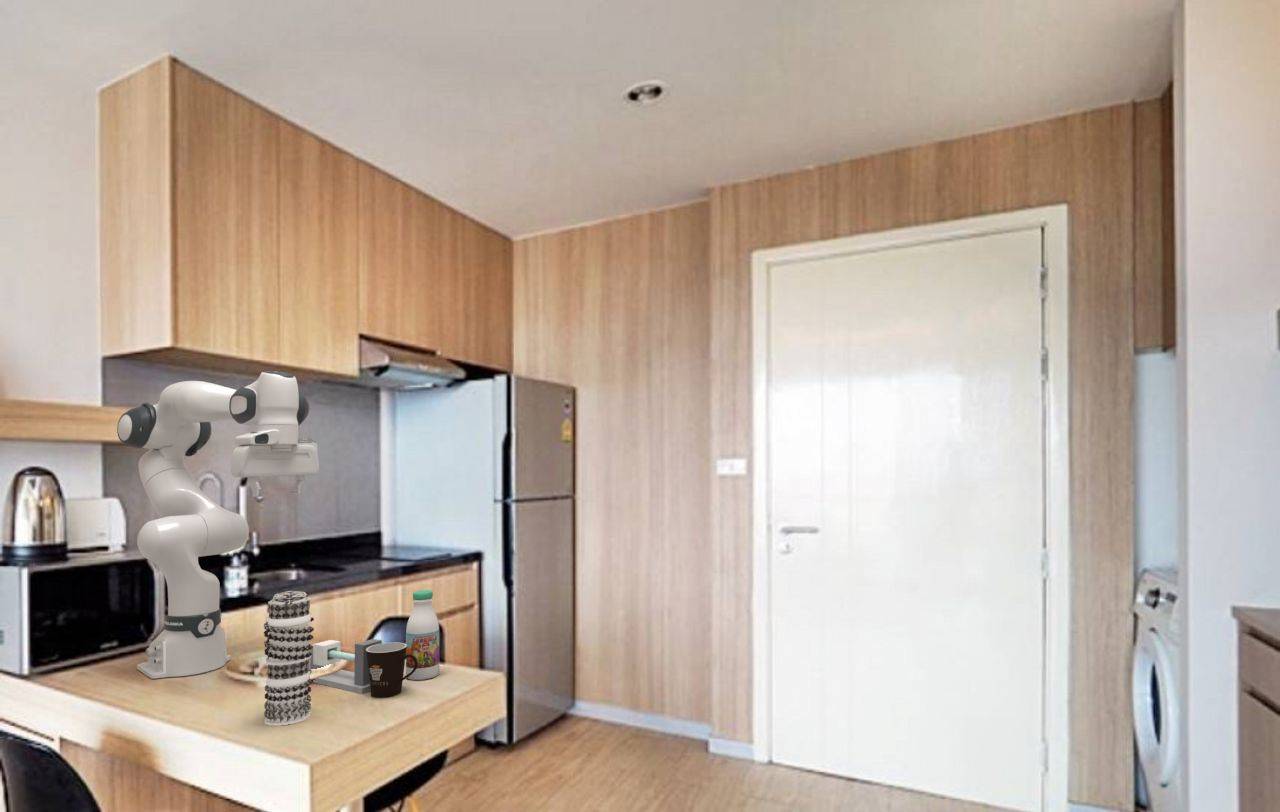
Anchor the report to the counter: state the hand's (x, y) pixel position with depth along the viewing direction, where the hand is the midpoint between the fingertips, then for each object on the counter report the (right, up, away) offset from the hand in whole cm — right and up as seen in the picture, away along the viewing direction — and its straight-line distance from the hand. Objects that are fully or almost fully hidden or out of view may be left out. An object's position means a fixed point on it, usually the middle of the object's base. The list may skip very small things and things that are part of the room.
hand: (276, 495), depth 168 cm
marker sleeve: (+12, -40, +1) cm, 42 cm away
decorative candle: (+15, -42, -26) cm, 52 cm away
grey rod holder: (+17, -44, -3) cm, 47 cm away
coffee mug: (+31, -43, -13) cm, 54 cm away
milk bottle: (+35, -44, +1) cm, 56 cm away
